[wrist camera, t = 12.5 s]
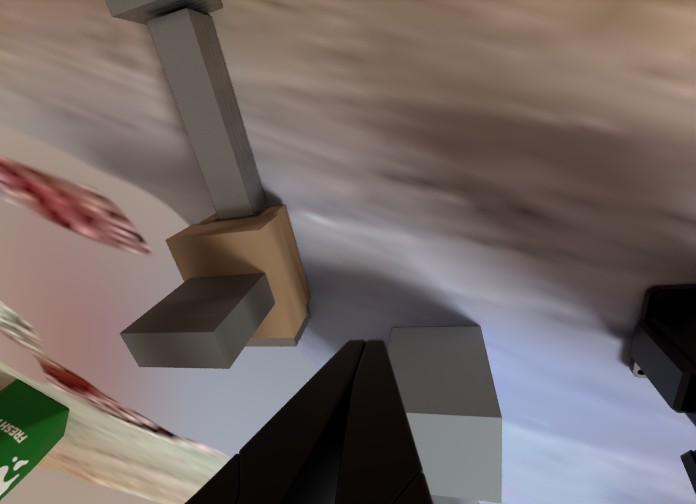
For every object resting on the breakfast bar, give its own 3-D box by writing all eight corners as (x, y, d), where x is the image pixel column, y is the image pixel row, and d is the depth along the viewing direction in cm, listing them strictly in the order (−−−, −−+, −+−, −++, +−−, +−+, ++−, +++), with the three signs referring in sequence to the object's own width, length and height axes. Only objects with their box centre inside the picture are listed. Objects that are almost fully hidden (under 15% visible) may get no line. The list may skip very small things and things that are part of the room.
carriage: (291, 203, 20) (200, 279, 12) (316, 296, 23) (256, 409, 15) (210, 214, 22) (83, 287, 14) (243, 300, 25) (153, 403, 17)
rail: (214, -21, 16) (171, -44, 14) (310, 317, 25) (296, 346, 22) (151, 1, 17) (98, -16, 15) (264, 318, 26) (244, 346, 23)
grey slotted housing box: (480, 326, 22) (501, 417, 16) (482, 400, 25) (501, 502, 18) (391, 327, 23) (379, 411, 17) (403, 397, 26) (396, 490, 20)
